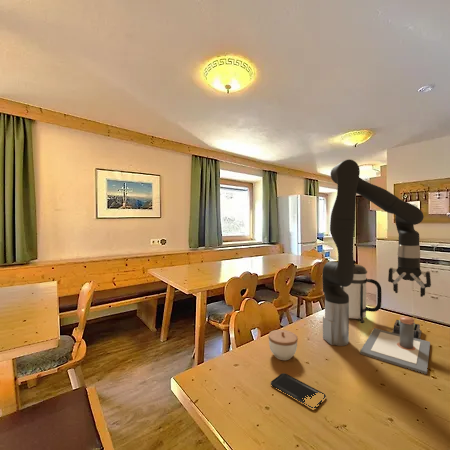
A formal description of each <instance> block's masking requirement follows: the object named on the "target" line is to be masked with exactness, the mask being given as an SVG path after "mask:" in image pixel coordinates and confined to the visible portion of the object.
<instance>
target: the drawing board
mask: <svg viewBox="0 0 450 450" xmlns="http://www.w3.org/2000/svg"><path fill="white" fill-rule="evenodd" d="M430 347H431V341H428V340H425V339H421V338H420V339H417V338H414V342H413V349H407V348H404V347H401V346H400V334H396V333H392V331H387V330H382V329H380V328H375V327H373V329H372V331H371V333H370V334H369V336H368V338H367V339H366V340H365V342H364V344H363V345H362V347H361V349H360V351H359V354H360V355H363V356H366V357H369V358H372V359H376V360H378V359H379V361H382V362H384V363H385V362H386V363H388V364H391V365H395V366H398V367H401V368H404V369H407V368H408V370H410V369H411V370H410V371H413V370H415V371H414V372H417V371H418V372H417V373H420V372H421V374H423V373H424V374H423V375H426V374H428V369H427V368H428V367H429V357H430Z"/></svg>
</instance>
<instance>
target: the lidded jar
mask: <svg viewBox="0 0 450 450" xmlns="http://www.w3.org/2000/svg"><path fill="white" fill-rule="evenodd" d="M298 339H299V338H298V336H297V334H296V333H294V332H293V331H291V330H286V329H275V330H272V331H270V332H269V333H268V345H269V349H270V352H271V353H272V354H273V355H274V357H275V358H276V359H277V360H279V361H288V360H292V359H291V358H293V357H294V355H295V354H296V352H297V348H298Z"/></svg>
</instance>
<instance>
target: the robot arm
mask: <svg viewBox="0 0 450 450" xmlns="http://www.w3.org/2000/svg"><path fill="white" fill-rule="evenodd" d="M330 178H331V180H332V181H333V183H335V184H336V185H337V187H336V188H337V191H336V192H337V194H336V197H335V200H334V202H333V207H332V209H331V213H330V220H329V221H330V222H329V232H330V235H331V237H332V240H333V243H334V245H335V247H336V249H337V259H338V260H337V261H333V260H331V261H327V262H326V263H325V264H324V265H323V267H322V279H321V280H322V292H323V294H324V316H322V339H323V340H325V342H327V343H328V344H329V345H331V346H333V345H334V346H339V347H341V346H342V347H343V346H347V345H348V344H349V342H350V341H349V336H350V335H349V333H350V332H349V330H350V328H349V326H350V324H349V323H350V321H349V320H350V318H349V296H348V294H347V293H346V292H345V291H344V290H343V289H342V288H341V286H343V287H347V286H349V285H350V284H351V283H352V281H353V277H354V236H355V224H356V207H357V206H356V204H357V202H356V200H357V194H358V195H359V196H361V197H362V198H364V199H366V200H367V201H369V202H371V203H372V204H374V206H377V207H378V208H379V209H381V210H383V211H384V212H386V213H387V214H392V215H394V216H395V217H394V222H395V225H396V227H395V228H396V230H397V233H398V246H397V268H393V267H390V268H389V269H388V278H387V281H388V282H389V283H392V284H393V286H392V287H393V288H392V289H393V292H395V294H398V292H399V284H398V283H399V281H401V280H404V281H411V282H414V281H415V282H416V284H418V286H420V293H419V294H420V297H421V298H423V297H425V295H426V288H430V287H432V281H431V279H432V278H431V272H430V271H429V270H427V271H424V270H423V271H422V269H421V249H420V233H419V232H418V231H417V230H416V229H415V226H414V225H418V224H420V223H423V220H424V219H425V218H424V217H425V216H424V213H423V211H422V210H421V209H420V208H419V207H417V206H415V205H413V204H411V203H410V202H407V201H405V200H403V199H400V198H399V197H397V196H396V195H395V194H394V193H392V192H390V191H389V190H387V189H385V188H383V187H381V186H379V185H376V184H373V183H371V182H368V181H366V180H365V179H363V178H361V177H360V166H359V164H358V162H357V161H355V160H353V159H349V158H348V159H345V160H342V161H341V162H339V163H337V164H336V165H334V167H333V168H332V169H331V171H330ZM395 272H396V273H397V274H398V276H397V277H396V279H393V275H394V274H395ZM421 275H423V277H424V278H425V280H426V281H425V282H426V283H424V282H423V281H422V279H421V278H420V277H421Z"/></svg>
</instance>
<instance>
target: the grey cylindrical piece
mask: <svg viewBox="0 0 450 450" xmlns="http://www.w3.org/2000/svg"><path fill="white" fill-rule="evenodd" d="M399 320H400V346H401V347H404V348H407V349H413V342H414V323H415V318H413V317H410V316H405V315H401V316H399Z"/></svg>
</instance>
